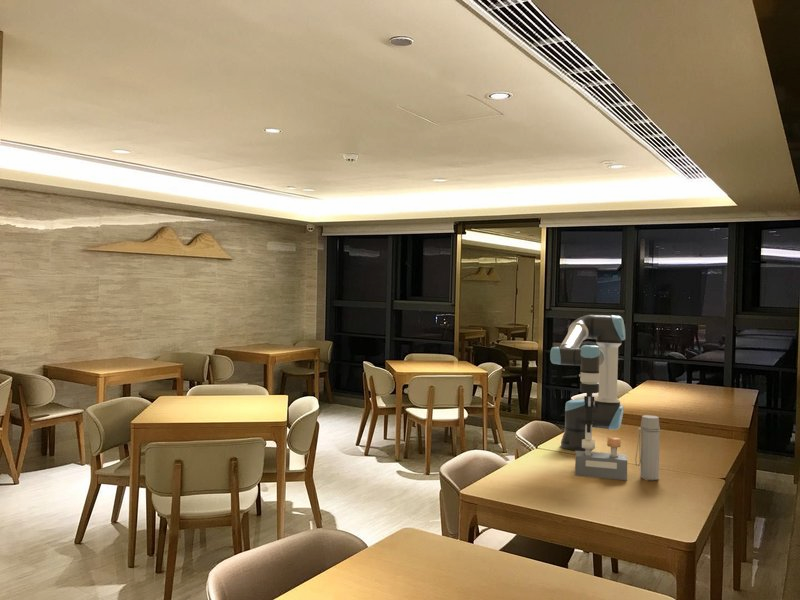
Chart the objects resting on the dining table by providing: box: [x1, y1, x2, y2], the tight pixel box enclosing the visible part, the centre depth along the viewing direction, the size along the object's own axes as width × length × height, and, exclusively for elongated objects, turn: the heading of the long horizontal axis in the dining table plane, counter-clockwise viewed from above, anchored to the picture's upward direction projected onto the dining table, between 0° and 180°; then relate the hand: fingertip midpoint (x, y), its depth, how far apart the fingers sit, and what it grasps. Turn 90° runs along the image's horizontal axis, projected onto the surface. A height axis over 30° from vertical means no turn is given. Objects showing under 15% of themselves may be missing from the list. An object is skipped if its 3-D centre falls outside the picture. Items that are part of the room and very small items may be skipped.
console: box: [574, 451, 628, 481], centre depth 263 cm, size 10×20×8 cm, turn 74°
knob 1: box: [582, 439, 596, 455], centre depth 265 cm, size 5×5×11 cm
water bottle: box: [635, 414, 661, 481], centre depth 259 cm, size 9×8×25 cm
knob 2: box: [606, 436, 622, 458], centre depth 262 cm, size 5×5×11 cm
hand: (588, 439), depth 264 cm, fingers closed
